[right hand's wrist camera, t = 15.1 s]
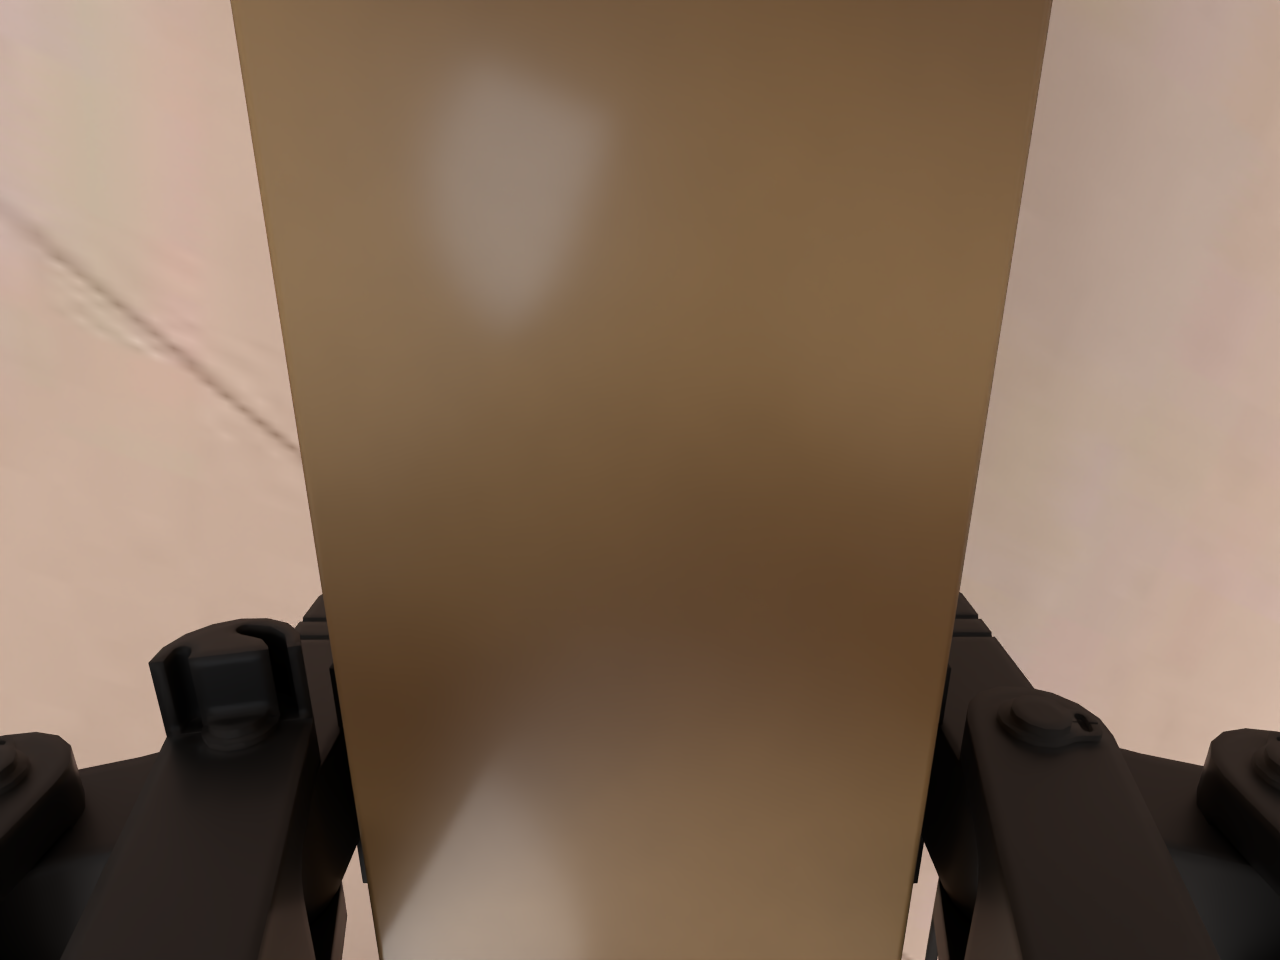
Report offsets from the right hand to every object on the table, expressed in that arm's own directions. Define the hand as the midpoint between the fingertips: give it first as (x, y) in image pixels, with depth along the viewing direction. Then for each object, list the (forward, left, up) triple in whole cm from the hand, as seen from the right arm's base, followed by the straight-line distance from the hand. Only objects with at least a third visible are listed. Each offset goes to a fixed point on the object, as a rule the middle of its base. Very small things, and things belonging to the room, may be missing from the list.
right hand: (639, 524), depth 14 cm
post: (+16, +11, -1) cm, 19 cm away
